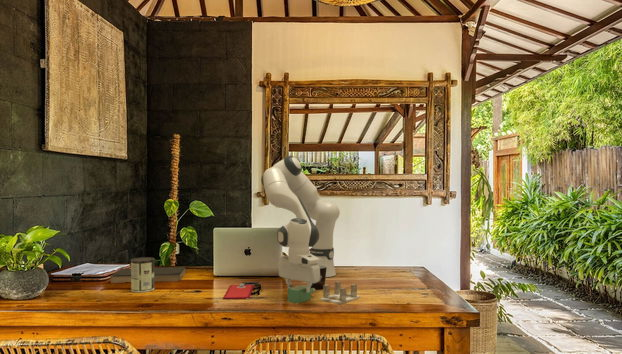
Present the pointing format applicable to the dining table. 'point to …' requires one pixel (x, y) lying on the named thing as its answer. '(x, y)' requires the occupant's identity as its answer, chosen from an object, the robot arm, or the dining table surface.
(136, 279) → the coffee can
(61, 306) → the dining table surface
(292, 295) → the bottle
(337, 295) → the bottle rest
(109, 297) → the dining table surface
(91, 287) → the dining table surface
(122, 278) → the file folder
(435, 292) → the dining table surface
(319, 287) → the coffee mug
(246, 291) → the red board with handle
